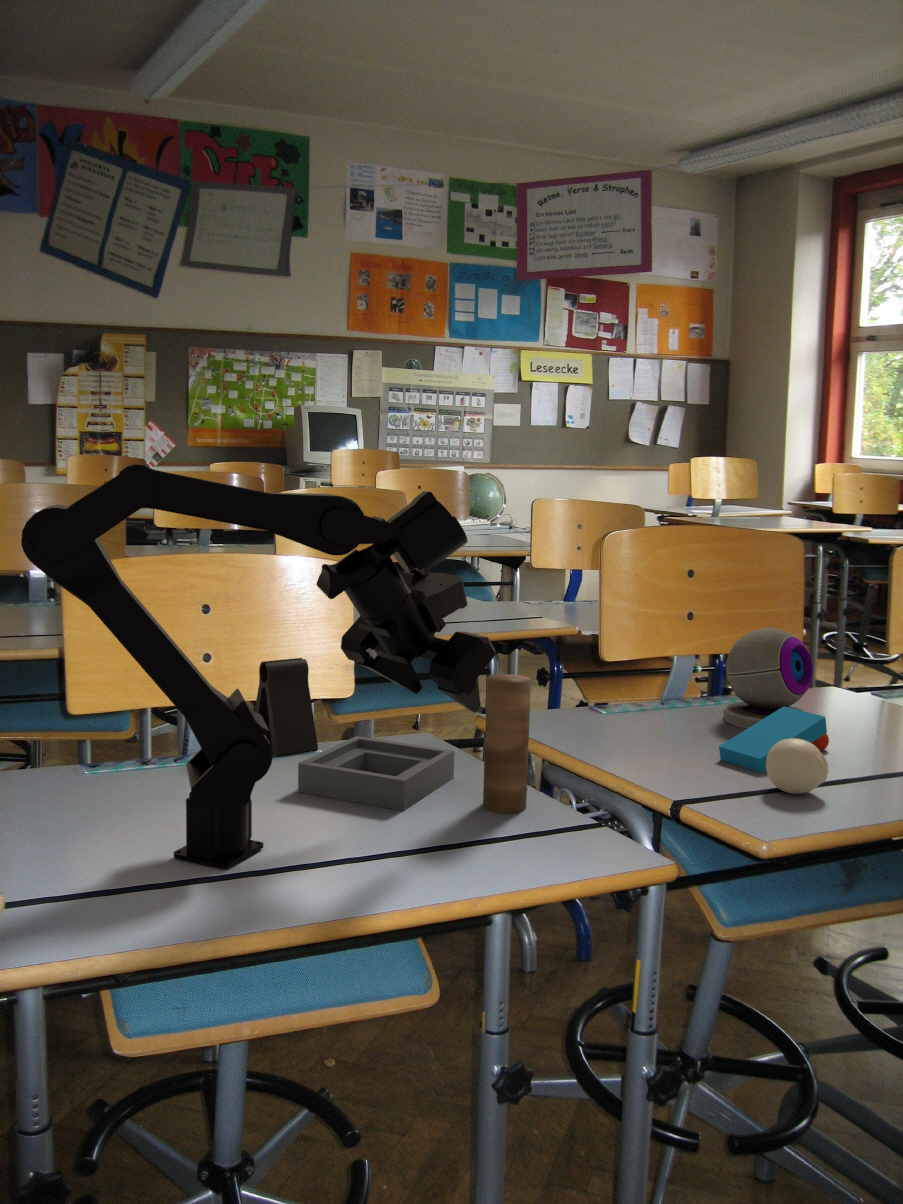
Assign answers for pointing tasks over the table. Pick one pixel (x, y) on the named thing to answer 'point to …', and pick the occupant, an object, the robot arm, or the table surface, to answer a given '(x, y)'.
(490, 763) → the walnut peg
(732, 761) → the teal long block
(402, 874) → the table surface
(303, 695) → the door stopper
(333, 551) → the robot arm
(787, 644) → the webcam
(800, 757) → the beige ball
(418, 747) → the box
